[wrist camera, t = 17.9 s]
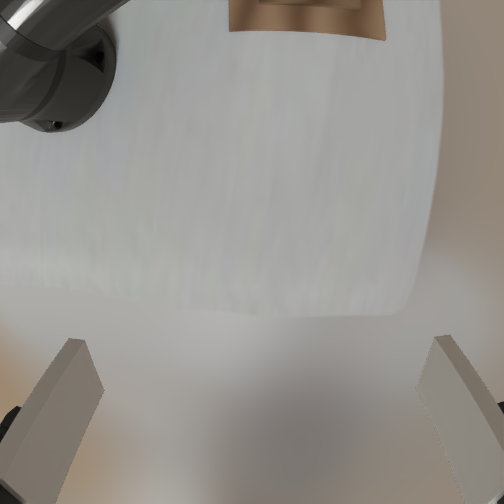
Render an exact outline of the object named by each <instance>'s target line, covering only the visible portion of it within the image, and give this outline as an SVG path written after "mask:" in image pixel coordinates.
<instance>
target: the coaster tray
mask: <svg viewBox="0 0 504 504" xmlns="http://www.w3.org/2000/svg"><path fill="white" fill-rule="evenodd" d="M229 31H230V32H233V31H301V32H317V33H330V34H340V35H349V36H357V37H364V38H371V39H377V40H383V41H385V40H386V31H385V20H384V11H383V2H382V0H229Z"/></svg>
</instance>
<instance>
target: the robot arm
mask: <svg viewBox="0 0 504 504" xmlns="http://www.w3.org/2000/svg"><path fill="white" fill-rule="evenodd" d="M128 1H130V0H0V123H6V122H15V121H19V122H21V123H23V124H25V125H27V126H29V127H31V128H34V129H36V130H38V131H42V132H48V133H53V132H63V131H68V130H71V129H74V128H76V127H78V126H80V125H81V124H83V123H84V122H86V121H87V120H88V119H89V118H91V117H92V116H93V115H94V114H95V112H96V111H97V110H98V109H99V108H100V106H101V105H102V103H103V102H104V100H105V98H106V96H107V95H108V92H109V90H110V88H111V85H112V82H113V78H114V73H115V64H116V60H115V51H114V47H113V44H112V42H111V40H110V38H109V36H108V35H107V34H106V32H105V31H104V30H102V29H101V28H100V27H98V26H96V24H97V23H99V22H100V21H101V20H103V19H104V18H105V17H107V16H108V15H109V14H111V13H112V12H114V11H115V10H117V9H118V8H120V7H121V6H122V5H124V4H125V3H127V2H128ZM416 390H417V392H418V395H419V397H420V399H421V401H422V403H423V405H424V407H425V410H426V412H427V414H428V416H429V418H430V421H431V423H432V425H433V427H434V429H435V432H436V434H437V436H438V438H439V441H440V443H441V446H442V448H443V450H444V453H445V455H446V457H447V459H448V462H449V464H450V467H451V470H452V472H453V475H454V477H455V479H456V482H457V485H458V487H459V490H460V493H461V495H462V498H463V501H464V503H465V504H495V503H496V502H497V504H504V402H500V403H496V401H495V400H494V398H493V396H492V395H491V393H490V392H489V390H488V389H487V387H486V386H485V384H484V382H483V381H482V380H481V378H480V377H479V375H478V374H477V372H476V371H475V369H474V368H473V366H472V365H471V363H470V362H469V360H468V359H467V358H466V356H465V355H464V354H463V352H462V351H461V349H460V348H459V346H458V345H457V344H456V342H455V341H454V340H453V338H452V337H451V335H445V336H437V337H434V339H433V342H432V345H431V348H430V351H429V354H428V356H427V359H426V362H425V365H424V367H423V370H422V372H421V375H420V378H419V380H418V383H417V385H416ZM103 393H104V388H103V386H102V383H101V381H100V378H99V376H98V374H97V371H96V368H95V366H94V364H93V361H92V358H91V355H90V353H89V350H88V347H87V345H86V342H85V340H80V339H72V338H69V339H68V341H67V342H66V343H65V345H64V346H63V347H62V349H61V350H60V352H59V353H58V354H57V356H56V357H55V359H54V360H53V362H52V363H51V365H50V366H49V367H48V369H47V370H46V372H45V373H44V375H43V376H42V378H41V379H40V380H39V382H38V383H37V385H36V387H35V388H34V389H33V391H32V393H31V394H30V396H29V397H28V399H27V400H26V402H25V403H24V405H23V407H18V406H16V407H15V408H14V409H12V410H11V411H10V412H9V413H8V414H7V415H6V416H5V418H4V419H3V421H2V422H1V424H0V504H55V503H56V501H57V498H58V495H59V493H60V491H61V488H62V486H63V483H64V480H65V478H66V476H67V473H68V471H69V468H70V466H71V464H72V461H73V459H74V457H75V454H76V452H77V450H78V447H79V445H80V443H81V441H82V438H83V436H84V434H85V432H86V429H87V427H88V425H89V423H90V420H91V418H92V416H93V414H94V412H95V410H96V408H97V405H98V403H99V401H100V399H101V397H102V394H103Z"/></svg>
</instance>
